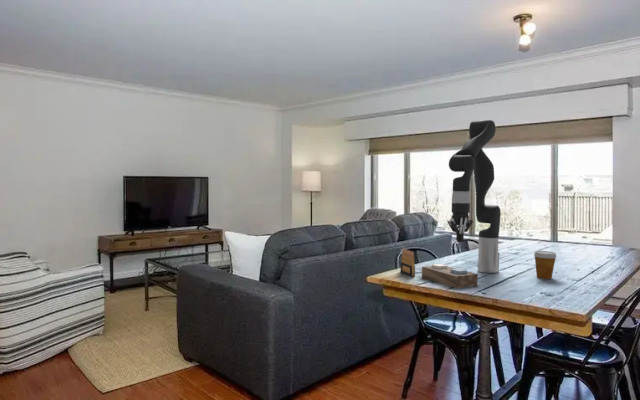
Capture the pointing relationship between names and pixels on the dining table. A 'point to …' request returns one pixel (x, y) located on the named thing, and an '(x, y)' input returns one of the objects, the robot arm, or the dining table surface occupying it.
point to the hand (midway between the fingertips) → (459, 241)
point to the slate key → (459, 271)
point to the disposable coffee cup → (544, 264)
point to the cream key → (439, 266)
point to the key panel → (450, 277)
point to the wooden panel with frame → (408, 263)
